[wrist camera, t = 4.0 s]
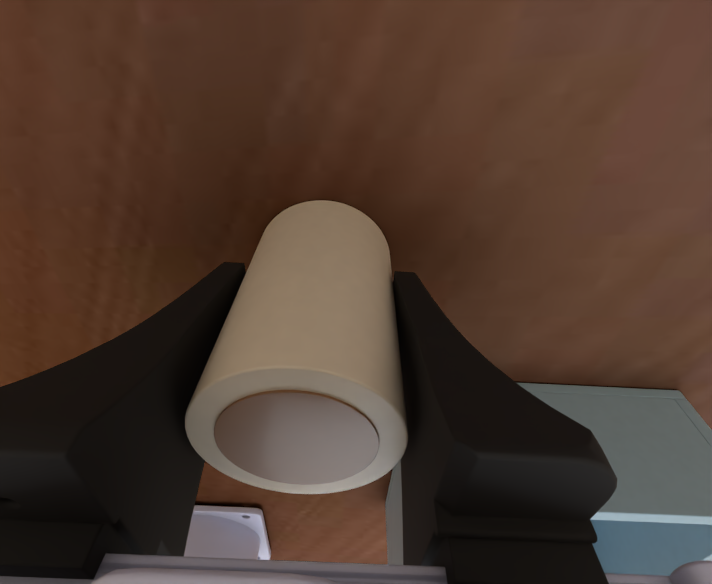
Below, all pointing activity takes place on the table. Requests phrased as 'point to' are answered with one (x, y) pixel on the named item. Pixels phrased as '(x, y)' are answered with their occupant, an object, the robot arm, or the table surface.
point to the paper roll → (307, 360)
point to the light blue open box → (629, 477)
